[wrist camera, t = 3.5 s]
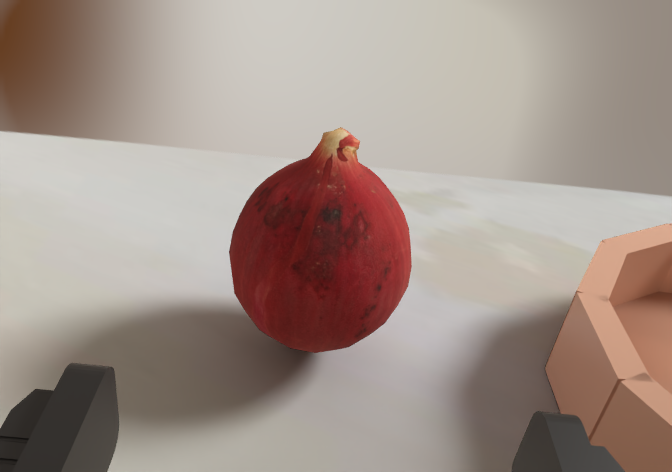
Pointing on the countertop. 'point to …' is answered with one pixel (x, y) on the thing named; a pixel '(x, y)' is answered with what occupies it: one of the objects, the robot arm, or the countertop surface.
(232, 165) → the countertop surface
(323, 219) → the onion
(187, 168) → the countertop surface
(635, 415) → the bowl
